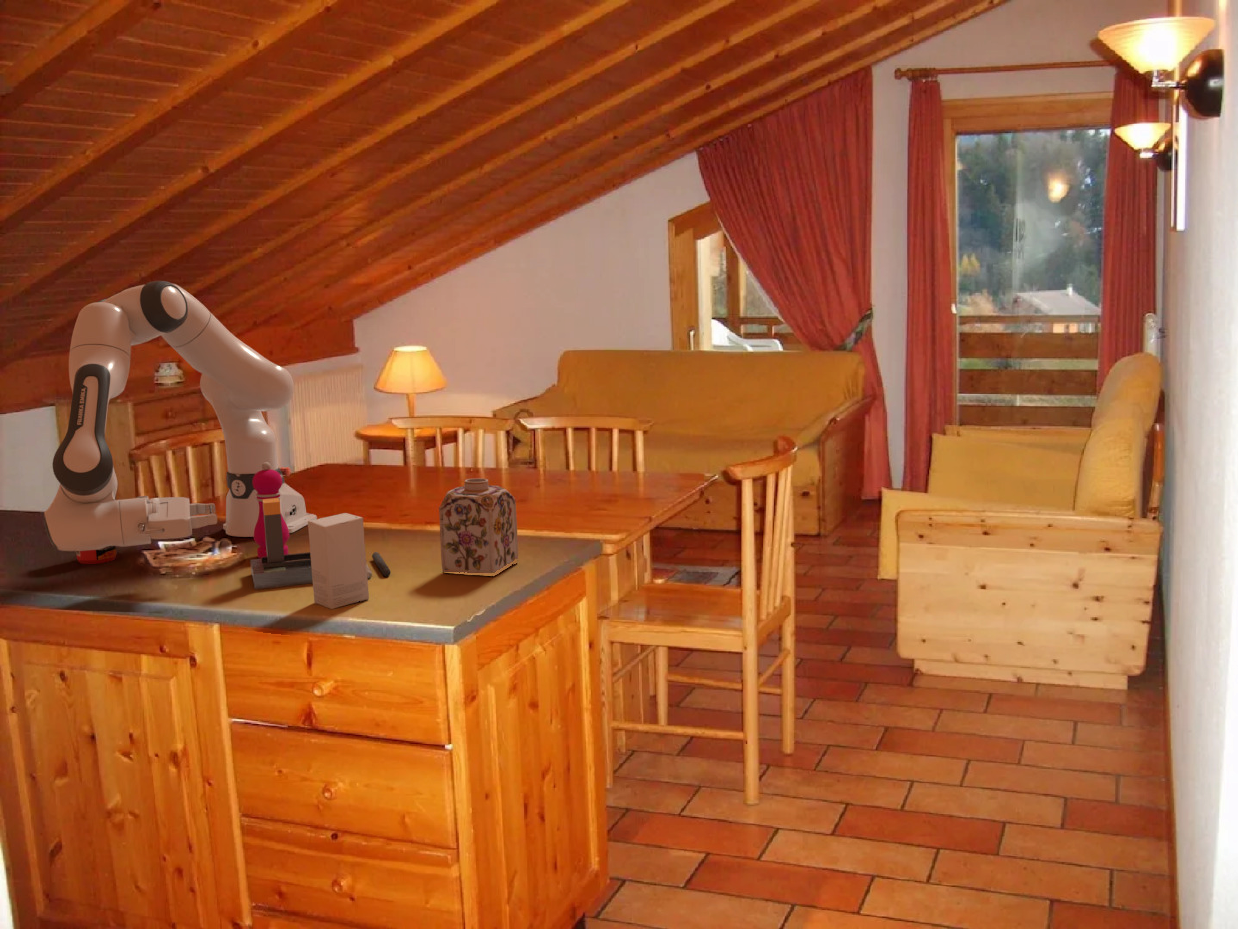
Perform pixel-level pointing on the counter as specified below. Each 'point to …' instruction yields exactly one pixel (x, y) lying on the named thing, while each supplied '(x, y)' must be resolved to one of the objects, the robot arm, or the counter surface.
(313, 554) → the skincare box
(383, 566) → the dark grey capsule
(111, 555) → the canned food
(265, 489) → the pepper mill
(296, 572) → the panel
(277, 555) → the lever
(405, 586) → the counter surface
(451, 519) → the decorative jar
